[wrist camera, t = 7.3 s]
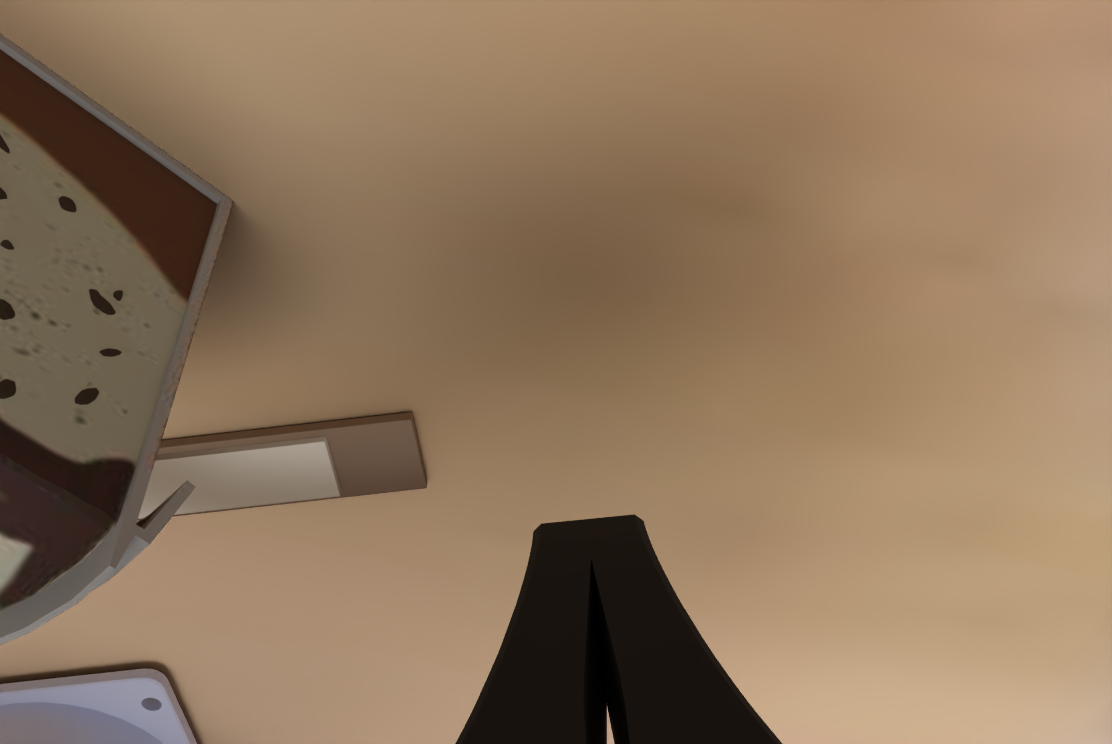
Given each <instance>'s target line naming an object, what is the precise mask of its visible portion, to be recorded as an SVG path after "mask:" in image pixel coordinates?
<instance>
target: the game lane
mask: <svg viewBox="0 0 1112 744" xmlns="http://www.w3.org/2000/svg"><path fill="white" fill-rule="evenodd" d="M187 480H188V481H189V482H190V483H192V484H193V485H194V486H196V488H195V489H194V490H193V492H192V493H191V494H190V495H189V496H188V498H187V499H186V500H185V501H184V503H183V504H182V505H181V506H180V508H179V509H178V510H177V511H176V512H175V514H174V515H173V516H181V515H190V514H199V513H208V512H217V511H226V510H235V509H244V508H253V507H262V506H271V505H280V504H289V503H297V502H306V501H315V500H324V499H333V498H342V497H351V496H360V495H369V494H378V493H387V492H396V491H405V490H413V489H422V488H427V477H426V472H425V468H424V463H423V459H422V455H421V450H420V446H419V441H418V437H417V432H416V428H415V423H414V419H413V415H412V412H407V413H399V414H390V415H381V416H372V417H364V418H355V419H346V420H337V421H328V422H320V423H311V424H302V425H293V426H285V427H276V428H267V429H258V430H249V431H241V432H232V433H223V434H214V435H206V436H197V437H188V438H179V439H170V440H162V441H161V444H160V447H159V450H158V453H157V457H156V460H155V463H154V467H153V470H152V473H151V477H150V480H149V483H148V487H147V490H146V493H145V497H144V500H143V503H142V507H141V510H140V513H139V517H138V520H141V519H143V518H145V517H146V516H148V515H149V514H151V513H152V512H153V511H154V510H155V509H156V508H157V507H158V506H159V505H161V504H162V503H163V502H164V501H165V500H166V499H167V498H168V497H169V496H170V495H172V494H173V493H174V492H175V491H176V490H177V489H178V488H179V487H180V486H181V485H183V484H184V483H185V482H186V481H187ZM173 516H172V517H173Z"/></svg>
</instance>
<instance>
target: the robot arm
mask: <svg viewBox="0 0 1112 744" xmlns="http://www.w3.org/2000/svg"><path fill="white" fill-rule="evenodd" d="M153 698H155V699H153ZM607 707H608V712H609V717H610V723H611V728H612V733H613V738H614V743H615V744H782V743H781V742H780V740H779V739H778V738H777V737H776V736H775V734H774V733H773V732H772V731H771V730H770V728H769V727H768V726H767V725H766V724H765V722H764V721H763V720H762V719H761V718H760V716H759V715H758V714H757V713H756V711H755V710H754V709H753V708H752V706H751V705H750V704H749V703H748V701H747V700H746V699H745V697H744V696H743V695H742V693H741V692H740V691H739V689H738V688H737V687H736V685H735V684H734V683H733V681H732V680H731V678H730V677H729V676H728V674H727V673H726V671H725V670H724V669H723V667H722V666H721V664H720V663H719V662H718V660H717V659H716V657H715V656H714V654H713V653H712V651H711V650H710V648H709V647H708V645H707V644H706V642H705V641H704V639H703V638H702V636H701V635H700V633H699V631H698V630H697V628H696V627H695V625H694V623H693V622H692V620H691V618H690V617H689V615H688V614H687V612H686V610H685V609H684V607H683V605H682V604H681V602H680V600H679V599H678V597H677V595H676V593H675V591H674V590H673V588H672V586H671V584H670V582H669V580H668V578H667V576H666V574H665V572H664V571H663V569H662V567H661V565H660V562H659V560H658V558H657V556H656V554H655V552H654V549H653V547H652V545H651V542H650V539H649V537H648V534H647V531H646V528H645V525H644V521H643V520H641V519H640V518H639V517H637V516H636V515H625V516H615V517H605V518H595V519H585V520H575V521H565V522H554V523H544V524H541V525H540V526H539V527H538V528H537V529H536V530H534V532H533V540H532V547H531V552H530V557H529V562H528V566H527V570H526V573H525V577H524V581H523V584H522V587H521V591H520V594H519V597H518V600H517V604H516V606H515V609H514V612H513V615H512V617H511V620H510V623H509V626H508V628H507V631H506V634H505V637H504V639H503V642H502V645H501V647H500V650H499V652H498V655H497V657H496V660H495V662H494V664H493V666H492V669H491V671H490V673H489V675H488V678H487V680H486V682H485V684H484V687H483V689H482V691H481V693H480V696H479V698H478V700H477V702H476V704H475V707H474V709H473V711H472V713H471V715H470V717H469V719H468V721H467V723H466V725H465V727H464V729H463V731H462V732H461V734H460V736H459V738H458V740H457V742H456V744H607ZM0 744H197V742H196V740H195V738H194V736H193V733H192V731H191V729H190V727H189V725H188V722H187V720H186V718H185V716H184V714H183V712H182V709H181V707H180V705H179V703H178V701H177V699H176V696H175V694H174V692H173V690H172V688H171V685H170V683H169V681H168V679H167V678H166V677H165V675H164V674H162V673H161V672H159V671H158V670H154V669H145V668H144V669H135V670H126V671H117V672H107V673H98V674H89V675H80V676H71V677H61V678H52V679H43V680H34V681H24V682H15V683H6V684H0Z"/></svg>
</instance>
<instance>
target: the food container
mask: <svg viewBox="0 0 1112 744" xmlns="http://www.w3.org/2000/svg"><path fill="white" fill-rule="evenodd" d="M232 205H233V201H232V200H231V199H229V198H228V197H227V196H225V195H224V194H222V193H221V192H220V191H218V190H217V189H215V188H214V187H213V186H211V185H210V184H208V183H207V182H206V181H204V180H203V179H201V178H200V177H199V176H197V175H196V174H195V173H193V172H192V171H190V170H189V169H188V168H186V167H185V166H183V165H182V164H181V163H179V162H178V161H176V160H175V159H174V158H172V157H171V156H170V155H168V154H167V153H165V152H164V151H163V150H161V149H160V148H158V147H157V146H156V145H154V144H153V143H151V142H150V141H149V140H147V139H146V138H145V137H143V136H142V135H140V134H139V133H138V132H136V131H135V130H133V129H132V128H131V127H129V126H128V125H126V124H125V123H124V122H122V121H121V120H119V119H118V118H117V117H115V116H114V115H113V114H111V113H110V112H108V111H107V110H106V109H104V108H103V107H101V106H100V105H99V104H97V103H96V102H94V101H93V100H92V99H90V98H89V97H88V96H86V95H85V94H83V93H82V92H81V91H79V90H78V89H76V88H75V87H74V86H72V85H71V84H69V83H68V82H67V81H65V80H64V79H63V78H61V77H60V76H58V75H57V74H56V73H54V72H53V71H51V70H50V69H49V68H47V67H46V66H44V65H43V64H42V63H40V62H39V61H37V60H36V59H35V58H33V57H32V56H31V55H29V54H28V53H26V52H25V51H24V50H22V49H21V48H19V47H18V46H17V45H15V44H14V43H12V42H11V41H10V40H8V39H7V38H6V37H4V36H3V35H1V34H0V645H1V644H3V643H6V642H8V641H11V640H13V639H16V638H18V637H20V636H23V635H25V634H28V633H30V632H31V631H33V630H34V629H36V628H38V627H39V626H41V625H43V624H44V623H46V622H47V621H49V620H51V619H52V618H54V617H56V616H57V615H59V614H60V613H62V612H64V611H65V610H67V609H69V608H70V607H72V606H74V605H75V604H77V603H78V602H79V601H80V600H82V599H83V598H84V597H85V596H86V595H87V594H88V593H89V592H91V591H92V590H94V589H95V588H97V587H99V586H100V585H102V584H104V583H105V582H107V581H108V580H110V579H111V578H112V577H113V576H114V575H116V574H117V573H118V572H119V571H120V570H121V569H122V568H123V567H125V566H126V565H127V564H128V563H129V562H130V561H131V560H132V559H134V558H135V557H136V556H137V555H138V554H139V553H140V552H141V551H143V550H144V549H145V548H146V547H147V546H148V545H149V544H150V543H151V542H152V541H153V539H154V538H155V537H156V536H157V535H158V533H159V532H160V531H161V530H162V528H163V527H164V526H165V525H166V524H167V522H168V521H169V520H170V519H171V517H172V516H173V515H174V514H175V512H176V511H177V510H178V509H179V508H180V506H181V505H182V504H183V503H184V501H185V500H186V499H187V498H188V496H189V495H190V494H191V493H192V492H193V490H194V489H195V488H196V486H194V485H193V484H192V483H190V482H189V481H188V480H187V481H186V482H185V483H184V484H183V485H181V486H180V487H179V488H178V489H177V490H176V491H175V492H174V493H173V494H172V495H170V496H169V497H168V498H167V499H166V500H165V501H164V502H163V503H162V504H161V505H159V506H158V507H157V508H156V509H155V510H154V511H153V512H152V513H151V514H149V515H148V516H146V517H145V518H143V519H141V520H140V521H138V522H137V520H138V517H139V513H140V510H141V507H142V503H143V500H144V497H145V493H146V490H147V487H148V483H149V480H150V477H151V473H152V470H153V467H154V463H155V460H156V457H157V453H158V450H159V447H160V444H161V440H162V437H163V434H164V430H165V427H166V424H167V420H168V417H169V414H170V410H171V407H172V404H173V400H174V397H175V394H176V390H177V387H178V384H179V380H180V377H181V374H182V371H183V367H184V364H185V361H186V357H187V354H188V351H189V347H190V344H191V341H192V337H193V334H194V331H195V327H196V324H197V321H198V317H199V314H200V311H201V307H202V304H203V301H204V298H205V294H206V291H207V288H208V284H209V281H210V278H211V274H212V271H213V268H214V264H215V261H216V258H217V254H218V251H219V248H220V244H221V241H222V238H223V235H224V231H225V228H226V225H227V221H228V218H229V215H230V211H231V208H232Z"/></svg>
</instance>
